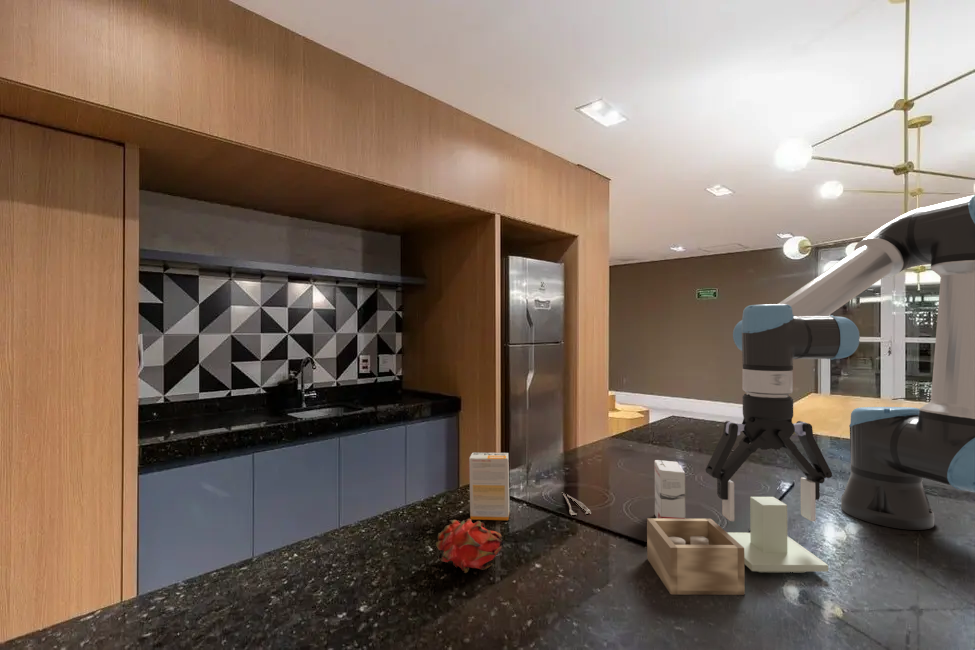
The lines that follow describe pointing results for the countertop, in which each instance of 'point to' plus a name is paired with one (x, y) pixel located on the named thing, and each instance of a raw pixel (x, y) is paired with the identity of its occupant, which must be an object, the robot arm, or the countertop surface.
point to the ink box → (669, 490)
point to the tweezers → (578, 504)
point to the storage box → (695, 557)
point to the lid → (773, 541)
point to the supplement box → (489, 486)
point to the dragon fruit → (469, 544)
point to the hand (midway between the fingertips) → (768, 518)
